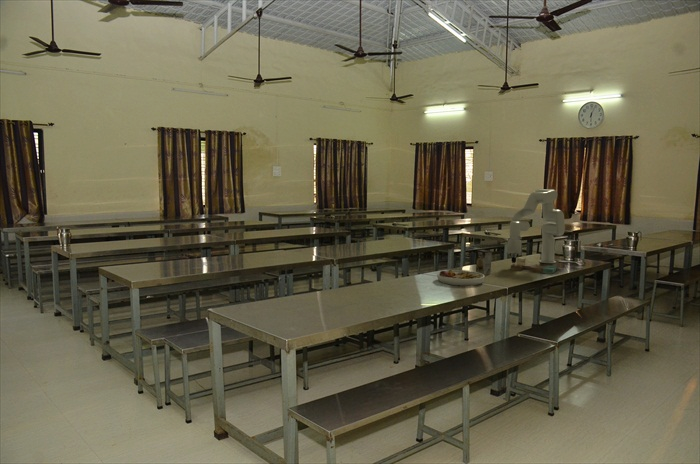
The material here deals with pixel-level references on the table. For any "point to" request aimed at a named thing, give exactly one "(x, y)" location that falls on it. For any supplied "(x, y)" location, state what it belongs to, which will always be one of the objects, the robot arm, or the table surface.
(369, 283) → the table surface
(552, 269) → the trap board
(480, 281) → the bowl
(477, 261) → the coffee box
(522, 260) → the birch block
